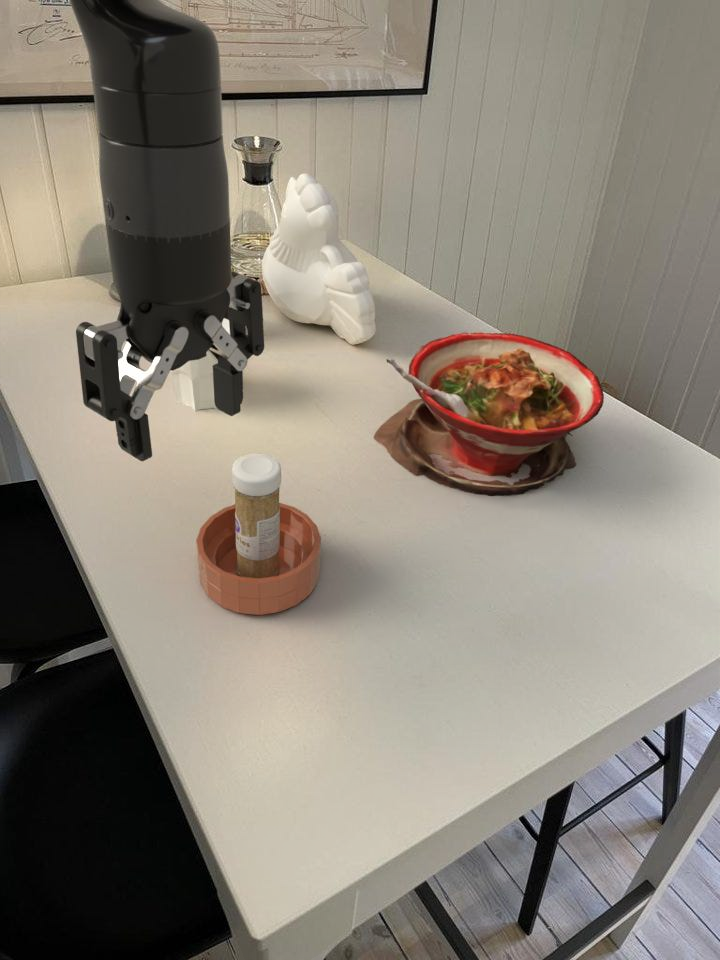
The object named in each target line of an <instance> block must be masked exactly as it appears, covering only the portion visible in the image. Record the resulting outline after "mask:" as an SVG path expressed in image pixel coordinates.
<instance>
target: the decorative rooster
mask: <svg viewBox="0 0 720 960" xmlns="http://www.w3.org/2000/svg"><path fill="white" fill-rule="evenodd" d="M280 212H281V214H280V218H279V224H278V225H277V226H276V228H275V229H274V230H273V234H272V235H271V236H270V237H269V244H268V246H267V247H266V249H265V251H264V254H263V257H262V260H261V275H262V280H263V284H264V286H265V288H266V291H267V293H268V295H269V296H270V298H271V300H272V302H273V303H274V304H275V306H276V308H277V309H278V310H279V311H280V312H281V313H282V314H284V315H285V316H286V317H287V318H289V319H290V320H292V321H295V322H298V323H302V324H313V325H314V324H315V325H320V326H330V328H331V329H332V330H333V332H334V333H335V334H336V335H337V336H338V337H339V338H341V339H343V340H345V341H346V342H347V343H348V344H350V345H351V346H355V345H358V344H362V343H365V342H366V341H369V340H370V339H371V338H373V336H374V335H375V333H376V331H377V325H376V321H375V320H376V319H375V318H376V304H375V301H374V297H373V294H372V291H371V289H370V279H369V276H368V271H367V269H366V266H365V265H364V264H363V263H362V262H360V261H359V260H358V258H357V257H356V255H354V253H353V252H352V251H351V250H350V249H349V248H348V247H347V246H346V245H345V244H344V242H342V240H340V237H339V215H340V214H339V213H340V212H339V206H338V202H337V200H336V199H335V196H334V195H333V193H332V192H331V191H329V189H327V188H326V187H324V186H323V184H321V183H319V182H318V180H317V179H316V178H315V177H314V176H312V175H310V174H309V173H307V172H304V173H301V174H300V175H299V176H298V177H297V178H296V177H295V176H291V177H290V178H289V180H288V183H287V185H286V189H285V200H284V202H283V205H282V207H281V211H280Z"/></svg>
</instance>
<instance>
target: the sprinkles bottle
mask: <svg viewBox="0 0 720 960" xmlns="http://www.w3.org/2000/svg"><path fill="white" fill-rule="evenodd" d="M231 481H232V485H233V489H234V503H235V504H236V512H235V523H236V549H237V564H236V571H237V574H238V575H239V576H240V577H247V578H267V577H274V576H277V574H278V573H279V570H280V564H279V544H280V505H279V503H280V486H281V484H282V466H281V463H280V462H279V460H277V459H276V458H275V457H273V456H271V455H269V454H265V453H249V454H245V455H242V456H240V457H238V458H237V459H236V460H235V461H234V462H233V464H232V468H231ZM235 504H234V505H235Z"/></svg>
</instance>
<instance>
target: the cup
mask: <svg viewBox="0 0 720 960" xmlns="http://www.w3.org/2000/svg"><path fill="white" fill-rule="evenodd" d="M222 326H223V328H224V329H225V330H226V331H227V332H228V333H229V335H230V327H229V320H228V319H225V318H224V319H223V322H222ZM217 363H218V361H217V360H215V359H214V358H213V357H212V355H211V354H210V353H209V352H208V351H207V352H206V357H203V358H201V359H199V360H191V361H188V362H187V363H186V364H184V365H183V366H182V367H180V368H178V369H175V370H173V371H171V370H170V371H169V372H170V375H171V380H172V387H173V392H174V398H175V403H176V405H183V406H185V407H188V408H190V409H192V410H193V411H194V412H197V411H200V410H208V409H214V410H215V409H216V410H219V409H218V408H217V407H216V406H215V402H214V383H213V365H215V364H217Z"/></svg>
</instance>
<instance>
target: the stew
mask: <svg viewBox="0 0 720 960" xmlns="http://www.w3.org/2000/svg"><path fill="white" fill-rule="evenodd" d="M386 363H388V364H390V365H391V366H392V367H393V368H394V370H395V371H396V372H397V373H399V374H400V376H401V377H402V378H403V379H404V380H406V381H407V382H408V383H410V384H411V385H412V386H413V388H414V390H415V392H416V393H417V394H418V396H419V398H417V399H413V400H411V401H409V402H408V403H407V404H406V405H405V406H404V407H403V408H401V409H400V410H399V411H397V412H396V413H394V414H393V415H392V416H390V417H389V418H388V419H387V420H386V421H385V422H383V423H382V424H381V425H380V426H379V427H378V429H377V430H375V433H374V436H373V439H374V440H375V441H376V442H378V443H379V444H381V445H382V446H383V447H384V448H385V449H386V452H387V453H388V454H389V455H390V456H391V458H392V459H393V460H394V461H395V462H396V463H397V464H398V465H400V466H401V467H402V468H404V469H405V470H407V471H408V472H410V473H411V474H412V475H415V476H416V477H418V476H424V477H425V478H428V480H431V481H433V482H435V483H437V484H439V485H443V486H445V487H448V488H453V489H455V490H460V491H462V492H465V493H470V494H475V495H484V496H489V497H494V496H500V497H501V496H502V497H503V496H513V495H514V496H515V495H523V494H526V493H527V492H529V491H532V490H538V489H540V488H541V487H543V486H544V485H545V484H547V483H550V482H553V481H554V480H555V479H556V478H557V477H560V476H563V475H564V474H565V470H569V469H574V468H575V467H576V466H577V461H576V458H575V456H574V453H573V452H572V449H571V446H570V445H569V443H568V441H567V439H566V437H568V435H570V436H571V437H573V434H571V432H573V431H575V430H578V429H579V428H581V427H583V426H585V425H586V424H588V423H589V422H591V421H592V420H594V418H595V417H597V416H598V414H599V413H600V411H601V409H602V408H603V405H604V402H605V401H604V399H605V394H604V390H603V387H602V385H601V382H600V379H599V378H598V376H597V375H596V374H595V373H594V372H593V370H591V369H590V368H589V367H588V366H587V364H584V363H583V362H582V361H581V360H580V359H579V358H577V357H576V355H574V354H572V353H571V352H570V351H567V350H565V349H563V348H561V347H558V346H556V345H553V344H550V343H549V342H545V341H541V340H539V339H535V338H533V337H529V336H524V335H522V334H515V333H507V332H505V333H503V332H500V333H499V332H493V333H491V332H461V333H456V334H449V335H448V336H445V337H439V338H435V339H433V340H430V341H428V342H427V343H426V344H424V345H420V347H419V349H418V350H417V351H416V353H414V355H413V357H412V359H411V360H410V362H409V365H408V373H407V372H406V371H404V369H403V367H401V366H399V365H398V363H397V362H396V360H395V359H388V358H386ZM430 454H436V455H440V456H441V459H443V460H449V461H450V463H448V466H449V467H451V468H453V469H457V468H464V469H466V470H469V471H471V472H474V473H478V474H481V475H486V476H489V477H490V476H491V477H499V476H500V477H505V478H509V479H511V478H512V477H513V475H512V474H516V475H517V474H519V471H520V469H521V468H522V467H523V464H524V465H528V466H529V467H530V471H529V473H528V477H525V478H523V479H522V478H519V479H518V481H513V483H512V484H510V483H509V482H506V481H501V480H498V479H495V480H491V481H490V480H489V481H487V480H480V479H479V480H478V479H471V478H470V479H469V478H467V477H465V476H464V475H460V474H456V473H455V471H453V470H450V471H448V472H449V473H447V472H445V471H444V470H443V469H442V468H438V467H437V466H436V464H435V463H434V462H433V461H435V462H436V461H438V459H436V458H432V457H431V456H430Z"/></svg>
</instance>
